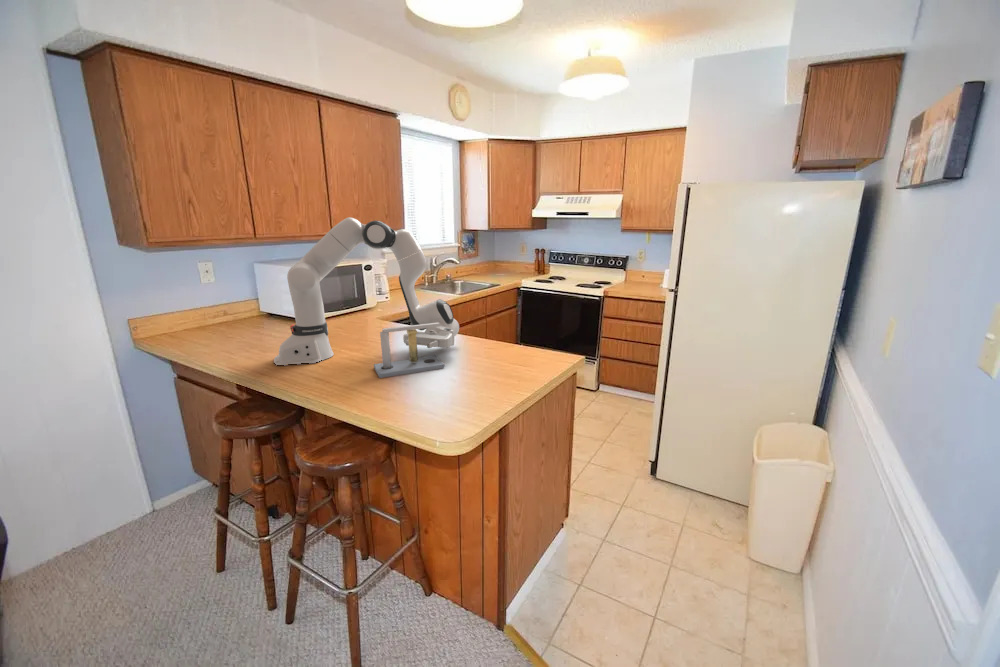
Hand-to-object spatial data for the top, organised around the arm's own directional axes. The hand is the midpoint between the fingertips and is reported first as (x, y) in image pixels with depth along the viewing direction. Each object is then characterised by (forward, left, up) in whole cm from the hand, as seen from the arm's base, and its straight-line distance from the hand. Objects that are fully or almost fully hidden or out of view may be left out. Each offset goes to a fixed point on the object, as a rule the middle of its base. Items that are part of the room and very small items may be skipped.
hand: (417, 344), depth 164 cm
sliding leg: (-3, -3, -6) cm, 7 cm away
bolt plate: (-5, -3, -8) cm, 10 cm away
